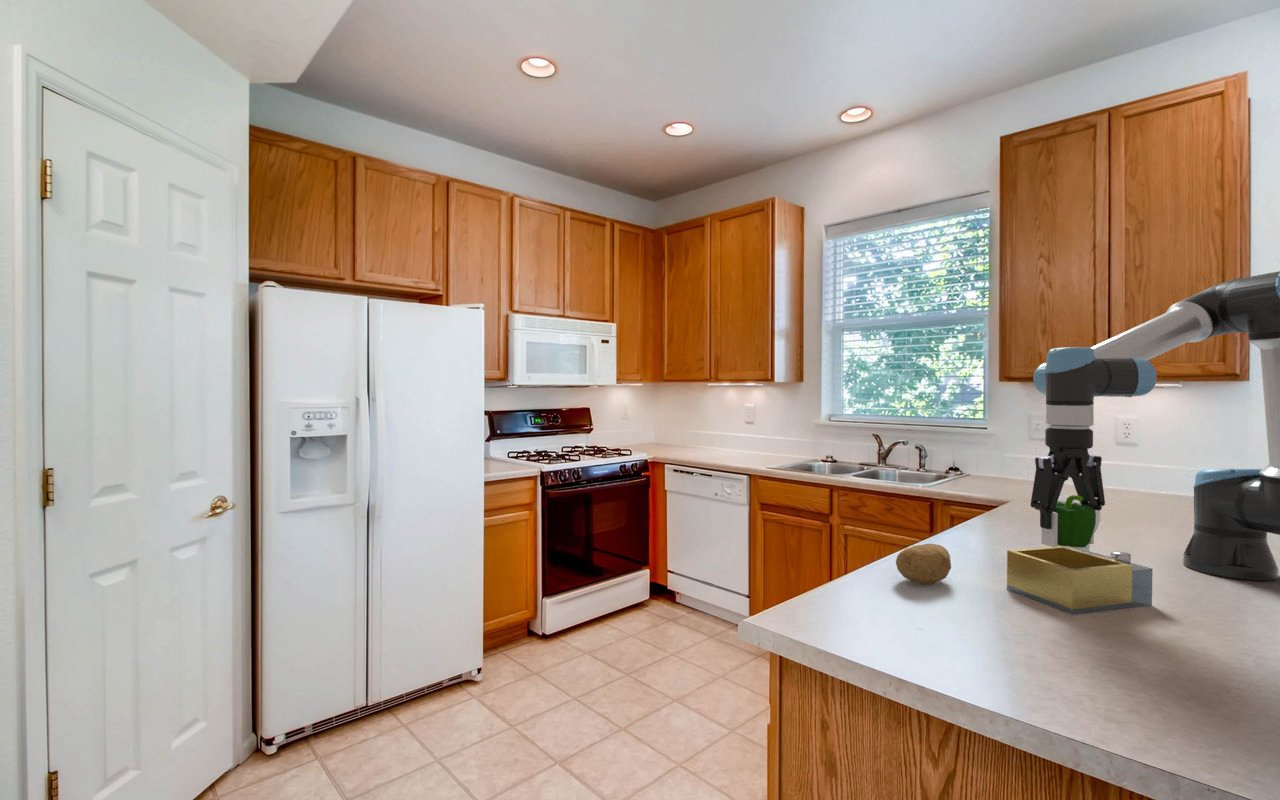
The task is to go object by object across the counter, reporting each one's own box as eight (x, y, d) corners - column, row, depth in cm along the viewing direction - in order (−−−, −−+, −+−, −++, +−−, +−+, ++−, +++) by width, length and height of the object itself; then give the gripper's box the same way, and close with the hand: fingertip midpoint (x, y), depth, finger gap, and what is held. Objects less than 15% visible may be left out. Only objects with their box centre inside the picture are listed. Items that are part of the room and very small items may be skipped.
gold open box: (1080, 582, 125) (1080, 539, 125) (1151, 605, 112) (1152, 557, 112) (1006, 589, 121) (1007, 545, 121) (1072, 614, 107) (1073, 565, 107)
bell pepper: (1031, 539, 120) (1032, 490, 120) (1073, 539, 120) (1074, 490, 119) (1060, 550, 111) (1060, 497, 111) (1104, 551, 111) (1105, 497, 111)
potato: (963, 581, 126) (964, 544, 126) (931, 595, 117) (932, 555, 117) (918, 570, 133) (918, 535, 133) (885, 583, 125) (885, 545, 125)
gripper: (1092, 425, 121) (1090, 535, 122) (1008, 427, 116) (1007, 542, 117) (1130, 427, 114) (1129, 545, 114) (1043, 429, 109) (1041, 552, 109)
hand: (1067, 543), depth 116 cm, fingers closed on bell pepper, 8 cm apart
